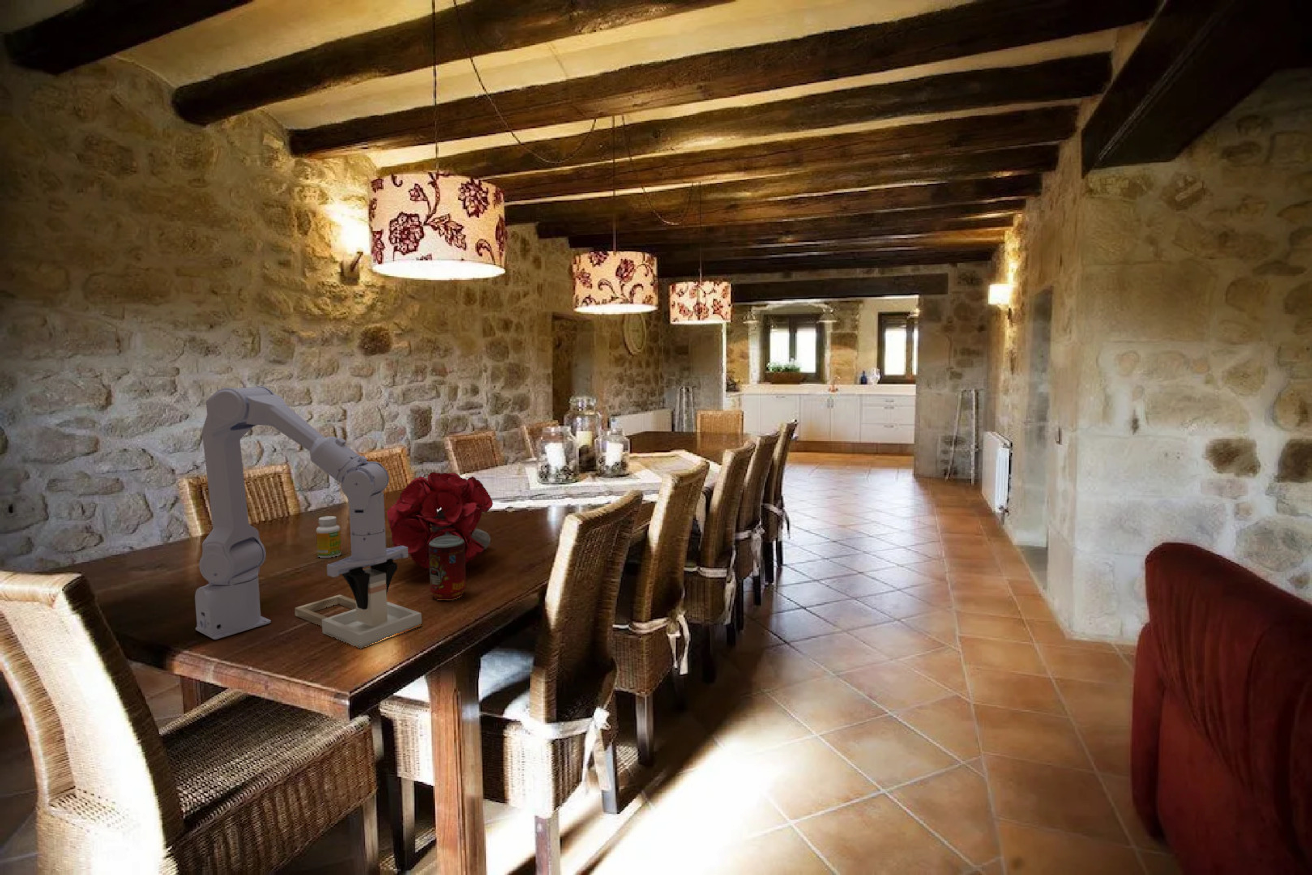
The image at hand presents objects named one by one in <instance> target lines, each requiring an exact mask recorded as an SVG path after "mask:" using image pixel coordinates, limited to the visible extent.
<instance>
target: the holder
mask: <svg viewBox="0 0 1312 875" xmlns="http://www.w3.org/2000/svg"><path fill="white" fill-rule="evenodd" d="M339 604H340V606H342V607H345V608H347V607H349V608H348V609H350V608H351V609H350V610H353V609H356V603H355V598H354V599H353V598H350V597H348V596H345V595H342V594H336V595H334V596H330V597H327V598H324V599H320V600H317V601H313V602H310V603H307V604H304V605H300V606H296V607H294V616H295V617H297V618H300V619H303V620H305V621H308V622H310V623H313V624H314V625H317V624H318V625H317V626H319V625H320V627H322V619H325V618H328V616H325V615H323V614H320V613H319V612H317V611H320V610H323V609H326V607H327V608H330V607H334V606H336V605H339ZM333 605H334V606H333Z"/></svg>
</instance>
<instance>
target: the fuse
mask: <svg viewBox="0 0 1312 875" xmlns="http://www.w3.org/2000/svg"><path fill="white" fill-rule="evenodd" d="M363 570H365V573H369V574H370V578H369V582H368V606H367V609H365V610H363V609H360V608H358V607H357V603H356V600H355V599H354V600H355V603H356V621H359V622H362V623H364V624H367V625H369V626H372V627H373V626H376V625H379V624H381V623H384V622H387V621H388V618H387V602H388V601H387V600H388V599H387V597H388V595H387V596H386V589H387V587H386V573H384V572H381V571H378V570H374V569H371V567H367V568H365V569H364V568H363Z"/></svg>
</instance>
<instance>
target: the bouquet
mask: <svg viewBox="0 0 1312 875" xmlns="http://www.w3.org/2000/svg"><path fill="white" fill-rule="evenodd" d="M397 498H398V499H397V500H396V502H395V503H394V504H393V505H392V506H389V508H388V509H387V510H386V514H387V523H388V525H389V528H390V532H391V542H392V545H393V546H392V547H398V546H405V547H408V555H410V557H411V559H412V560H413V561H414V563H416V564H418V565H419V566H421V567H423V568H425V569H427V570H430V566H429V543H430V542H431V541H432V540H433V539H434V538H437V537H441V536H458V537H460V538H461V539H463V540H464V542H465V564H467V563H470V561H473V560H474V559H476V558H477V557H478V556H480V555H481V554H482V553H483V552H484V550H486V549H487V548H488V547H489V546H490V544H491V536H490V534H489V533H487V532H486V531H484V530H482V529H481V528H480V529H479V528H477V525H478V524H479V522H480V520H481V518H482V514H483V513H488V512H489V510H490V509H491V508H493V505H494V503H493V499H492V498H491V495H490V494H489V492H488V490H487V488H485V487H484V485H483V483H482V482H481V481H480V480H479V479H477V478H476V477H474V476H473V475H472V476H470V477H467V479H466V478H465V477H464V478H463V477H461V476H460V475H459V474H458V473H456V472H443V473H440V472H435V471H433V472H429V474H427V478H426V477H423V476H418V477H416V478H414V479H412V480H411V481H410V482H409V483H408V484H407V485H406V486H405V488H404V489H403V490H402V491H401V493H400V496H399V497H397Z"/></svg>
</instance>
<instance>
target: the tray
mask: <svg viewBox="0 0 1312 875" xmlns="http://www.w3.org/2000/svg"><path fill="white" fill-rule="evenodd" d="M327 617H328V616H327ZM387 618H388V621H387V622H384V623H381V624H379V625H376V626H373V627H372V626H369V625H367V624H364V623H362V622H359V621H356V609H349V610H347V611H344V612H342V613H337V614H335V615H331V616H329V617H328V618H325V619H322V626H321V628H322V629H321V630H322V634H323V635H326V636H328V637H331V638H333V637H335V638H336V640H338V639H339V640H338V641H340V640H341V641H340V642H342V641H343V642H342V643H345V642H346V643H345V644H347V643H349V644H351V645H350V646H352V645H353V646H352V647H354V646H357V647H358V648H357V649H359V648H360V649H359V650H362V649H361V648H363V647H365V646H368V645H370V644H372V643H375V642H378V641H380V640H382V639H384V638H386V637H390V636H392V635H394V634H396V633H400V632H402V631H405V630H406V629H411V628H413V627H415V626H417V625H419V624H422V625H423V623H422V622H423V621H422V613H421V612H420V611H416V610H413V609H410V608H407V607H404V606H401V605H399V604H396V603H393V602H389V601H387ZM335 638H334V639H335ZM349 644H348V645H349ZM368 647H369V646H368ZM363 649H364V648H363Z"/></svg>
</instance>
